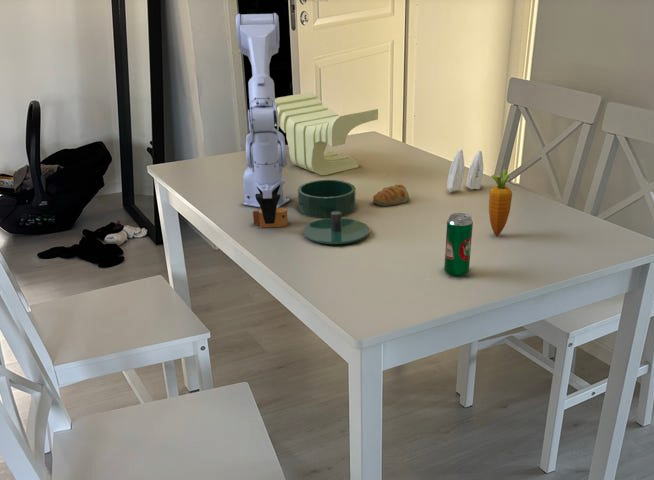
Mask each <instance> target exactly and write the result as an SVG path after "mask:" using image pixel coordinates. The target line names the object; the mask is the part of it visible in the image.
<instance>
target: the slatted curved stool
mask: <svg viewBox="0 0 654 480" xmlns="http://www.w3.org/2000/svg"><path fill="white" fill-rule="evenodd" d="M275 102H276V107H277V110H278V123H279V128H280V129H281V131H282V132H283V133H284V134H285V135H286V142H287V146H288V153H289V159H290V160H289V161H290V162H291V163H292V165H295V166H297V167H299V168H302V169H305V170H307V171H310V172H312V173H315V174H317V175H320V176H326V175H331V174H335V173H339V172H343V171H348V170H352V169H356V168H359V165H358V162H357V161H358V160H357V159H355V158H352V157H349V156H347V155H344V154H339V153H338V152H335V151H331V152H326V153H325V150H326V147H327V145H329V146H330V147H331V148H332V147H338V146H343V145H345V144H346V140H347V137H348V135H349V133H350V132H351V131H352V130H353V129H355V128H356V127H359V126H361V125H363V124H366V123H370V122H373V121H379V109H378V108H376V109H369V110H366V111H365V110H364V111H360V112H356V113H350V114H344V115H339V114H338V113H337V112H335V111H333V110H332V109H329V107H328V106H327V105H325V104H323V101H321V99H320V98H318V96H317V95H316V94H315V93H314V92H313V91H310V92H304V93H299V94H298V93H297V94H292V95H286V96H285V95H284V96H280V97H275ZM274 127H277V126H276V124H275V125H274Z"/></svg>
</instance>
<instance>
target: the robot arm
mask: <svg viewBox="0 0 654 480" xmlns="http://www.w3.org/2000/svg"><path fill="white" fill-rule="evenodd" d="M279 20H280V19H279V15H278V14H277V13H276V12H273V13H247V14H245V13H244V14H241V13H237V15H236V16H235V28H236V30H235V31H236V39H237V43H238V44H237V45H238V49H239V50H240V54H242V55H244V56H245V57H248V60H249V63H250V65H251V74H252V75H251V78H249V80H248V83H247V84H248V85H247V86H248V99H249V103H248V104H249V109H247V119H248V130H249V133H248V134H247V135H246V138H245V158H246V159H245V160H246V167H247V168H246V169H245V170H244V172H243V178H242V182H243V192H244V193H243V195H244V202H243V205H244V206H248V207H256V208H261V210H262V214H263V218H264V221H265V224H274V222H275V216H276V208H281V207H282V206H284V205H285V204H287V203H288V202H290V201H291V198H288V197H284V187H283V186H284V185H285V184H286V179H285V178H284V177H283V168H285V167H287V149H286V148H287V146H286V140H285V136H284V134H283V133H282V132H281V131H279V130H280V129H279V128H280V127H279V123H278V110H277V107H276V102H275V99H276V93H275V82H274V80H273V78H272V77H271V76H270V63H271V59H272V56H274V55H276V54H278V53H279V48H280V21H279ZM275 124H276V126H275ZM275 127H276V128H275Z"/></svg>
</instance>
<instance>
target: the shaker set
mask: <svg viewBox="0 0 654 480" xmlns="http://www.w3.org/2000/svg"><path fill="white" fill-rule="evenodd" d="M483 159H484V158H483V151H482V150H478V151H477V152H476V154H475V155H474V157H473V159H472V161H471V163H470V165H469V168H468V172H467V178H466V183H465V187H466V188H468V189H469V190H474V189H475V190H480V189H481V185H482V180H483V174H484V160H483ZM464 175H465V158H464V151H463V149H459V150H458V151H457V152H456V154H455V155H454V158H453V160H452V161H451V164H450V166H449V170H448V175H447V182H446V189H447V190H448V192H449V193H454V192H458V191H460V190H462V186H463V180H464Z"/></svg>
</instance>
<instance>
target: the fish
mask: <svg viewBox="0 0 654 480" xmlns="http://www.w3.org/2000/svg"><path fill="white" fill-rule="evenodd" d="M252 217H253V218H252V219H253V225H259V228H261V229H262V228H283V227H287V226H288V224H289V222H288V221H289V220H288V209H287V208H286V207H279V208H276V216H275V222H274V224H265V221H264V218H263V214H262V210H261V207H259V209H258V210H253V211H252Z"/></svg>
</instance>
